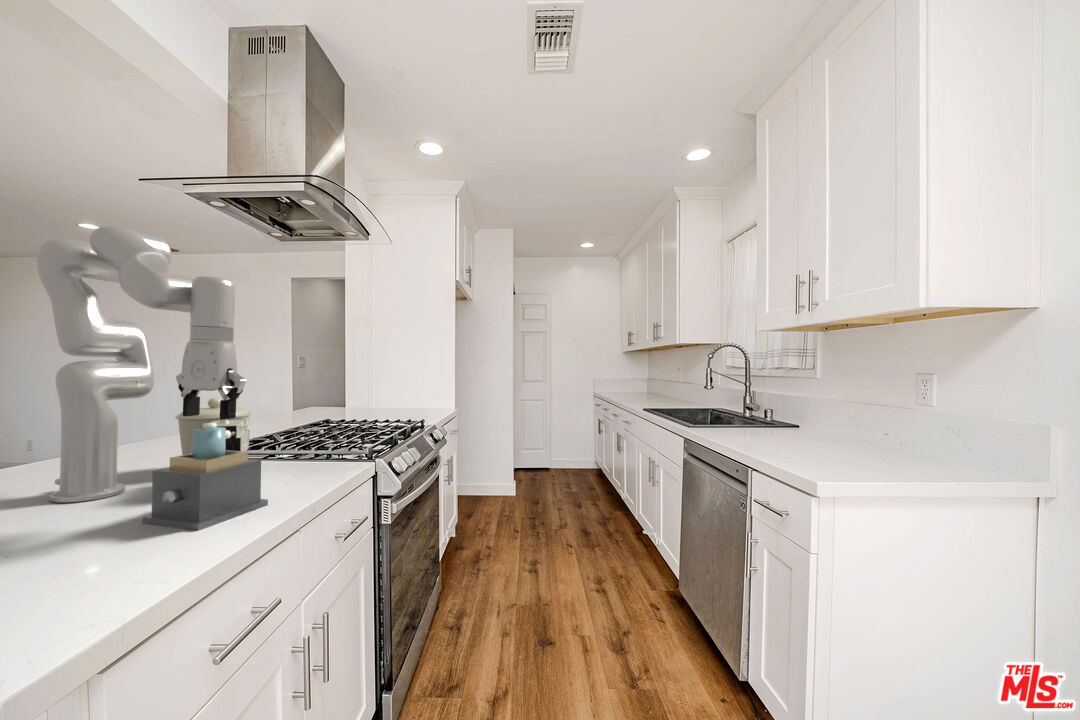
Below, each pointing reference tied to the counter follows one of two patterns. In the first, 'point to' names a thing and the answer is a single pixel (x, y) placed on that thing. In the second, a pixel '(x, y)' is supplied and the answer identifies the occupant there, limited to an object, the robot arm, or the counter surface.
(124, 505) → the counter surface
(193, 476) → the grey box
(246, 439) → the cream boxy piece
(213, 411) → the canister
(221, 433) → the drain pump
